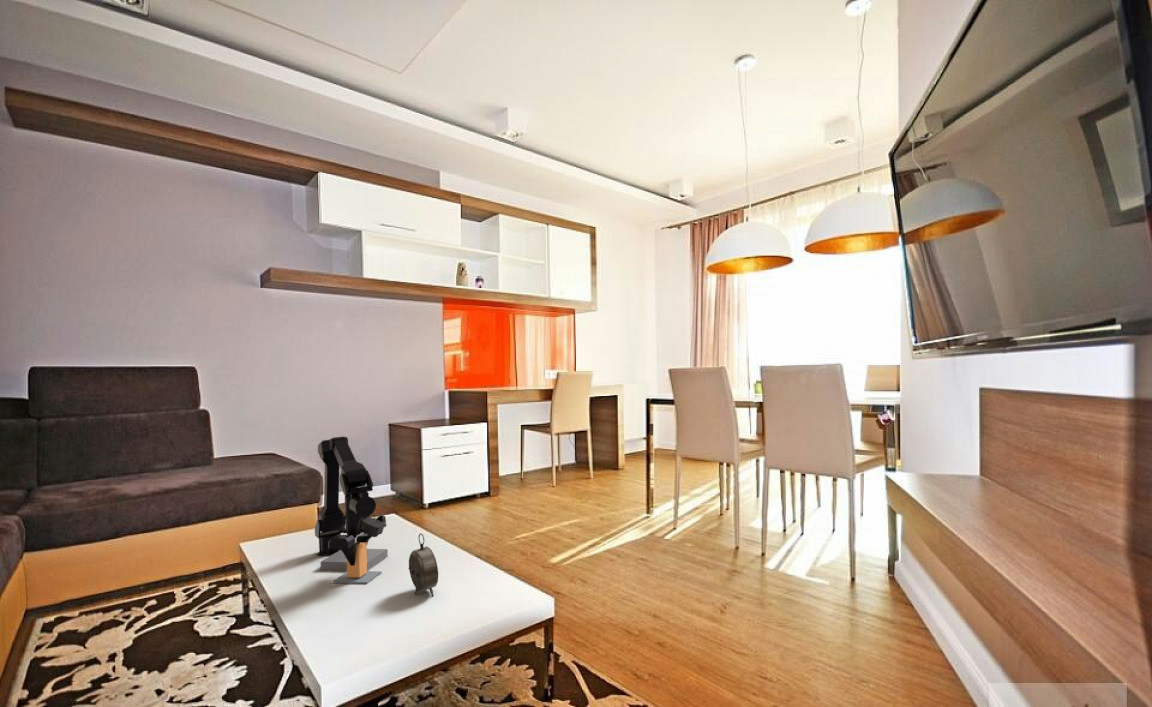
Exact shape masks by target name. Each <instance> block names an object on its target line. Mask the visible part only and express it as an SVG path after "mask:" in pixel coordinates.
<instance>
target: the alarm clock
mask: <svg viewBox="0 0 1152 707" xmlns="http://www.w3.org/2000/svg"><path fill="white" fill-rule="evenodd" d="M421 536H422V540H423V542H422V543H421V540H420V537H421ZM418 543H419V546H420V547H419V548H416V549H414V550H412V552H411V553H410V555H409V557H408V558H409V559H408V571H409V575H410V579H411V581H412V584H413V586H414V588H415V591H414V595H417V592H418V591H420V592H424V591H427V590H429V593H430V596H431V597H434V590H433V588H435V587H436V586H437V585H438V582H439V567H438V563H437V559H436V557H435V554H434V552H433V550H432V549H431V548H430V547H429V546H424V544H425V536H424V534H423V533H419V534H418Z"/></svg>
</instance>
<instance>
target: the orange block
mask: <svg viewBox="0 0 1152 707" xmlns="http://www.w3.org/2000/svg"><path fill="white" fill-rule="evenodd" d="M357 543H360V544H359V545H358V546H357V548H356V558H355V565H354V566H351V565H350V563H349V562H348V560H347V570H346V572H347V577H361V576H363V575H364V574H365V573H367V549H368V548H367V547H368V546H366V542H357Z"/></svg>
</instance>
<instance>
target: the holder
mask: <svg viewBox="0 0 1152 707" xmlns="http://www.w3.org/2000/svg"><path fill="white" fill-rule="evenodd" d="M388 554H389V553H388V548H367V571H370V569H371V570H372V568H373V567H375V566H376V565H378V564H380V563H381V562H383V559H384V560H385V559H386V558H388ZM320 570H321V571H322V570H325V571H347V558H346V557H345V555H344V553H343V552H342V551H341V550H340V551H338V552H336V553H335V554H333V555H328V557H325V559H323V560H320Z"/></svg>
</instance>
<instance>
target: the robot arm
mask: <svg viewBox="0 0 1152 707" xmlns="http://www.w3.org/2000/svg"><path fill="white" fill-rule="evenodd" d="M317 454H318V455H319V458H320V460H321V461H322V462H323V464H324V478H323V479H324V482H323V483H324V485H323V486H324V487H323V488H324V489H323V490H324V493H323V494H324V496H323V506H322V508H321V509H320V511H319V512H318V517H317V518H318V519H317V520H316V523H315V525H314V526H315V527H314V536H315V537H316V538H317V539H318V549H319V551H318V552H316V553H315V555H316V556H331V555H333V554H335V553H336V552H338V551H340V550H341V551H342V552H343V553H344V555H345V557H346V558H347V560H348V562H349V563H350V565H351V566H354V565H355V558H356V548H357V546H358V545H359V544H360V543H357V542H366V546H367V545H368V543H369V541H370V539H372V538H377V537H378V536H379V535H382V534H383V532H384V528H385V527H387V519H386V516H385V515H383V514H381V515H379V516H377V517H371V515H372V514H374V513H375V511H376V509H377V503H376V501H375V499H374V498H373V497H371V496H369V492H372V491H373V490H374V489H373V486H374V483H373V479H372V477H371V475H370V472H369V470H367V468H366V467H365V465H364V464H363V463H361V462H359V461H357V460H356V457H355V455H354V454H353V451H352V448H351V447H350V445H349V438H348V437H347V436H344V435H343V436H336V437H332V438H329V439H323V440H321V442H319V443H318V445H317ZM340 487H341V489H342V490H341V491H342V492H343V495H344V512H343V511H342V509H341V508H340V507H339V500H340ZM367 547H368V546H367Z"/></svg>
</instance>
